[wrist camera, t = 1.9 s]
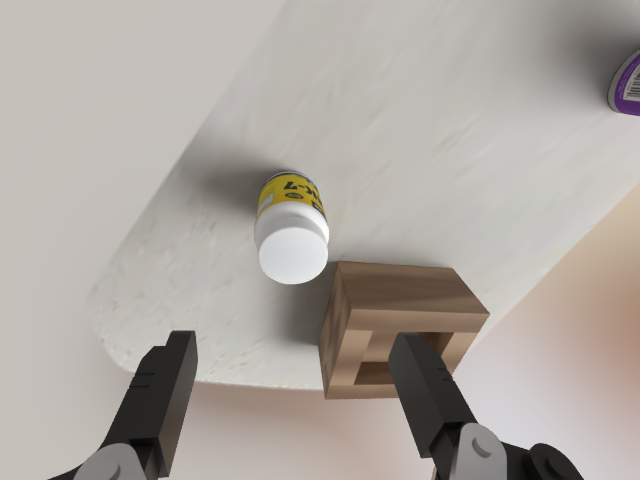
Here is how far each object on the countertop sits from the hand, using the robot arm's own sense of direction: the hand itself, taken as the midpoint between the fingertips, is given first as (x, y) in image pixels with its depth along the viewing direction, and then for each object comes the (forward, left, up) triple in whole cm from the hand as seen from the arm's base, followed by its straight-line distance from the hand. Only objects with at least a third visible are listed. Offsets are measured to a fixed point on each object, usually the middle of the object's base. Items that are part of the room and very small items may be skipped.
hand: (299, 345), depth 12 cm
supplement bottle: (0, 0, -14) cm, 14 cm away
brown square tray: (+12, +11, -14) cm, 22 cm away
